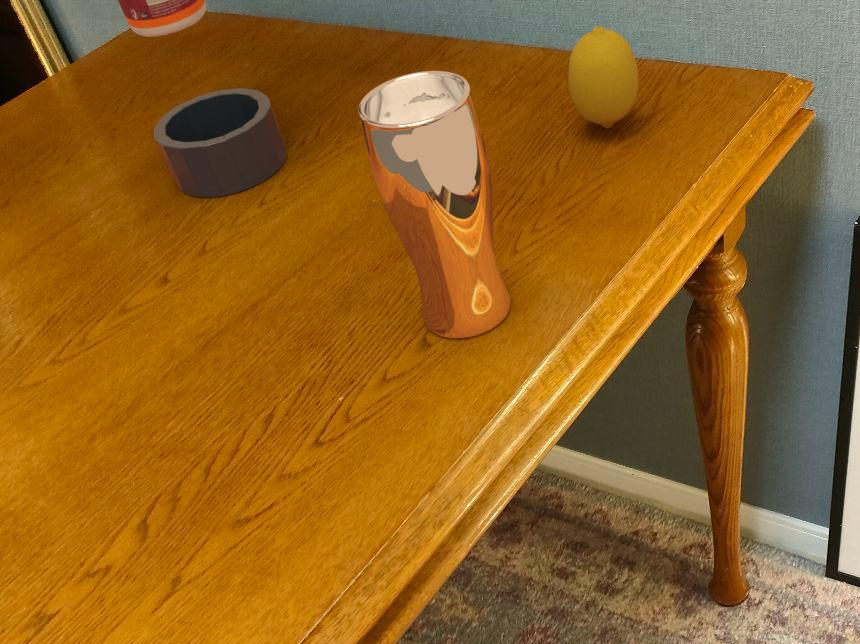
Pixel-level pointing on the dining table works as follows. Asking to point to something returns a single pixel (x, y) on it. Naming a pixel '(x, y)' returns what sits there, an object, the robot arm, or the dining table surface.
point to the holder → (221, 142)
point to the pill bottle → (161, 15)
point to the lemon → (603, 77)
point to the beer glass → (438, 196)
